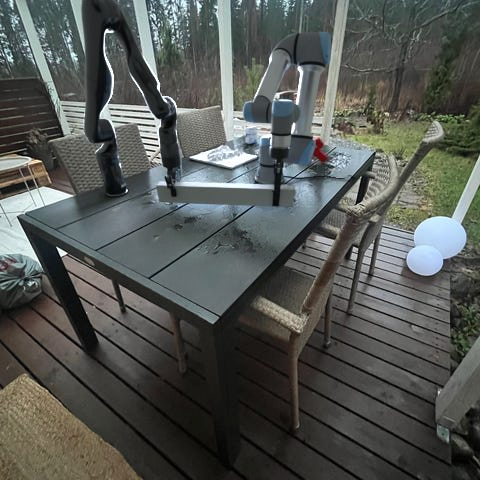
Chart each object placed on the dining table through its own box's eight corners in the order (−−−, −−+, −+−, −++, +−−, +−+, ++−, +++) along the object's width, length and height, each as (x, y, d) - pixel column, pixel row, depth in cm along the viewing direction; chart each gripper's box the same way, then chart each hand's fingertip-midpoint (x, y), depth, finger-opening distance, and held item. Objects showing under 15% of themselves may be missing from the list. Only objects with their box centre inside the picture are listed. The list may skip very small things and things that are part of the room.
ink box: (252, 141, 220) (252, 125, 213) (257, 142, 217) (257, 126, 210) (245, 142, 215) (245, 127, 208) (249, 144, 212) (249, 127, 205)
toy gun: (331, 157, 168) (319, 136, 164) (331, 159, 164) (318, 137, 160) (306, 172, 178) (294, 153, 174) (305, 174, 174) (292, 154, 170)
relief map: (231, 168, 161) (231, 160, 158) (189, 159, 179) (189, 151, 176) (257, 158, 179) (257, 150, 176) (217, 150, 197) (216, 142, 194)
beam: (292, 202, 116) (294, 185, 111) (293, 207, 111) (295, 189, 107) (163, 197, 121) (160, 181, 117) (159, 202, 117) (155, 185, 113)
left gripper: (167, 149, 114) (173, 187, 123) (154, 158, 102) (162, 200, 111) (184, 149, 113) (189, 187, 122) (173, 159, 101) (179, 201, 110)
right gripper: (270, 140, 109) (267, 194, 122) (269, 152, 94) (266, 212, 107) (288, 140, 109) (284, 195, 121) (291, 152, 93) (285, 213, 106)
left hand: (176, 193), depth 117 cm, fingers closed on beam, 5 cm apart
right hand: (275, 203), depth 114 cm, fingers closed on beam, 5 cm apart
